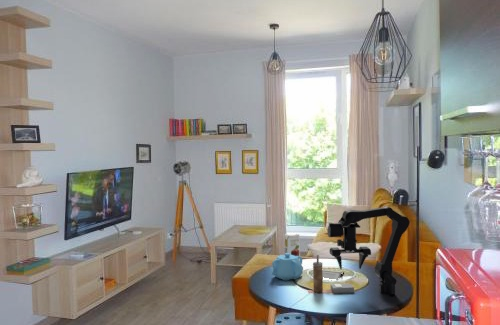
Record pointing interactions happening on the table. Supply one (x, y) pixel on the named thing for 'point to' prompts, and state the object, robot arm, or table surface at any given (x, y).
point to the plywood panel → (322, 292)
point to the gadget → (330, 274)
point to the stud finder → (342, 288)
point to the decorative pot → (287, 267)
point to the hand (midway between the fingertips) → (350, 269)
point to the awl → (317, 276)
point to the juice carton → (292, 244)
